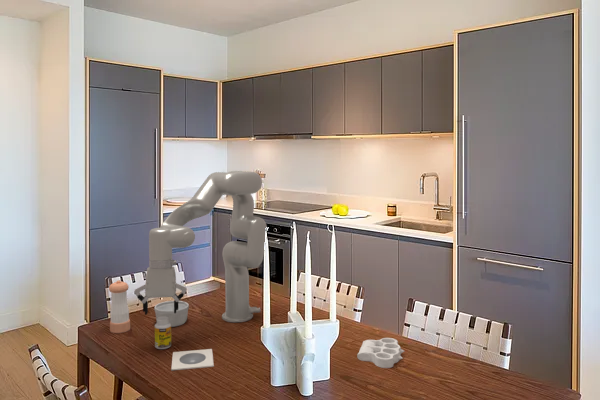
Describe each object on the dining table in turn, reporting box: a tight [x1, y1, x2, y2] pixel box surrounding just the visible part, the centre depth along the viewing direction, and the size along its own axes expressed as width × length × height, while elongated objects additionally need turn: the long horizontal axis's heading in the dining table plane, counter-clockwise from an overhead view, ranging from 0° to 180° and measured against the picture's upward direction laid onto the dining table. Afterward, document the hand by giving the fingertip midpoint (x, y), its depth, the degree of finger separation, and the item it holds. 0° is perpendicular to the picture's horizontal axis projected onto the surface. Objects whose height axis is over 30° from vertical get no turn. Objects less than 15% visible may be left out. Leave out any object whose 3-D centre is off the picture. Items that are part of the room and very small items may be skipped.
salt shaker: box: [108, 280, 131, 334], centre depth 182 cm, size 7×7×19 cm
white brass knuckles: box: [356, 337, 406, 369], centre depth 160 cm, size 3×18×15 cm
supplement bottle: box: [154, 317, 172, 350], centre depth 167 cm, size 6×6×10 cm
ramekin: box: [154, 300, 190, 328], centre depth 191 cm, size 13×13×7 cm
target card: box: [170, 348, 215, 371], centre depth 157 cm, size 13×13×1 cm
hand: (160, 312), depth 165 cm, fingers open, 9 cm apart
